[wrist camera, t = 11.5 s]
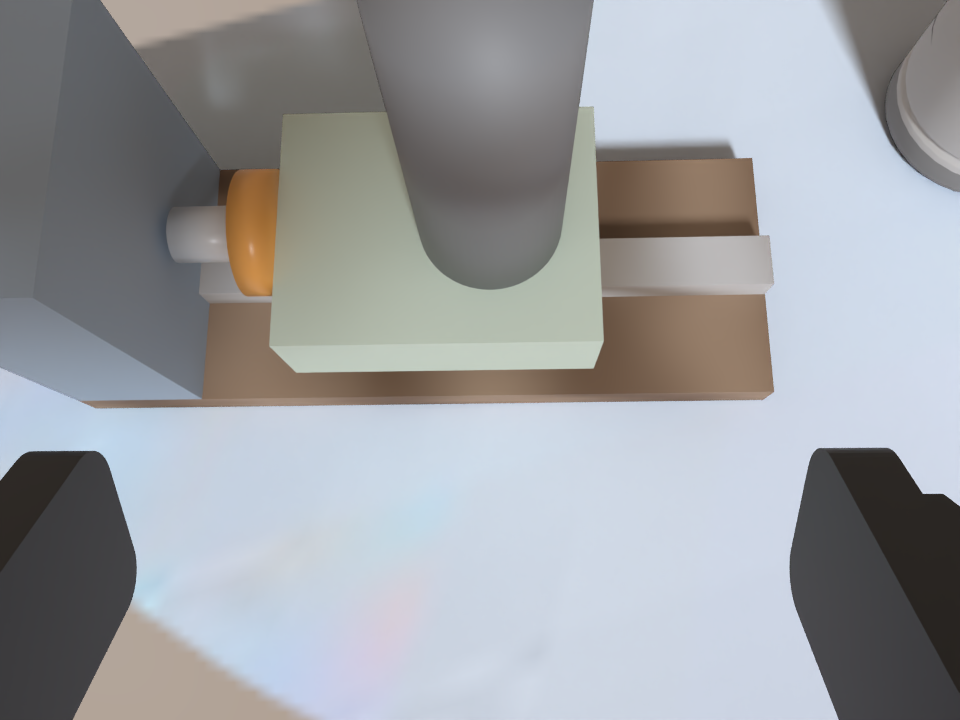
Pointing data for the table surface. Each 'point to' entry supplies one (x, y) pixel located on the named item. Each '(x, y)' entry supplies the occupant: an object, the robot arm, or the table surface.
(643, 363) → the track
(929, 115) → the travel mug
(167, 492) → the table surface
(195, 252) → the button
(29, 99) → the end cabinet
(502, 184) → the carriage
